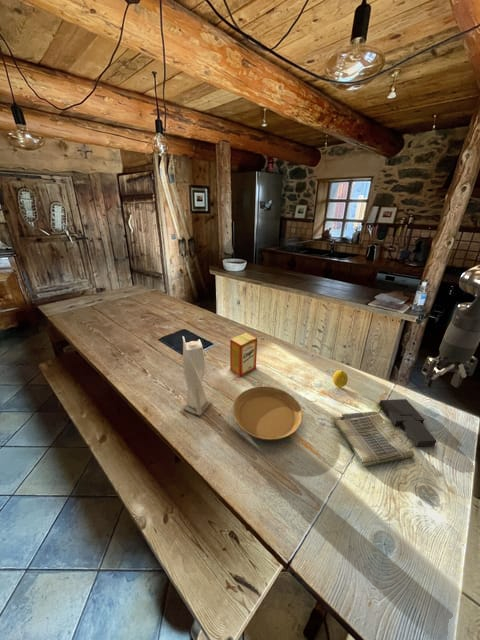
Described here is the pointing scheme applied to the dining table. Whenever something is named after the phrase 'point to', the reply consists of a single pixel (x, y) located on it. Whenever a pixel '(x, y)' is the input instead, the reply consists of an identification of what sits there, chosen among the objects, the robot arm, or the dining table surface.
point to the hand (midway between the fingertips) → (440, 386)
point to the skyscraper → (194, 376)
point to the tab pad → (417, 432)
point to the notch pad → (399, 410)
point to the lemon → (340, 378)
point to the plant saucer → (267, 413)
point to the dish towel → (372, 438)
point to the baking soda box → (243, 354)
